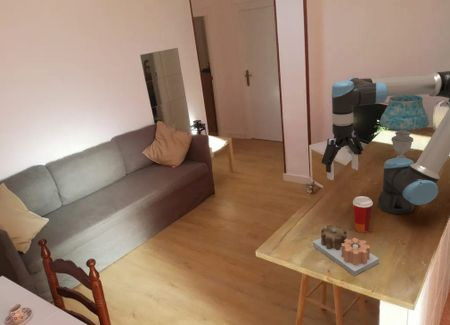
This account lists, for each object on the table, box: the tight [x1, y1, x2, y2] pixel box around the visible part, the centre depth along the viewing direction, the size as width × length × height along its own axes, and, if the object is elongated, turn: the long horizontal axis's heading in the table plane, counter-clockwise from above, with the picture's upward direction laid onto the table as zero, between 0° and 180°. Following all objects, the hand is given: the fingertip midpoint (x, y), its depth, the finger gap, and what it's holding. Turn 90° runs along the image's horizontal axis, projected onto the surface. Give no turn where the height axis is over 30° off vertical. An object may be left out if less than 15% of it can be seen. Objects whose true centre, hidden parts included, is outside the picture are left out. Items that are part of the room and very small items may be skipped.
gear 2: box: [341, 237, 371, 266], centre depth 126 cm, size 10×10×5 cm
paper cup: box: [352, 195, 374, 233], centre depth 143 cm, size 8×8×14 cm
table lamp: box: [379, 95, 430, 159], centre depth 190 cm, size 24×24×40 cm
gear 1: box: [320, 225, 348, 250], centre depth 135 cm, size 10×10×6 cm
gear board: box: [312, 237, 380, 277], centre depth 131 cm, size 12×22×7 cm, turn 27°
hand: (342, 173), depth 138 cm, fingers open, 13 cm apart
